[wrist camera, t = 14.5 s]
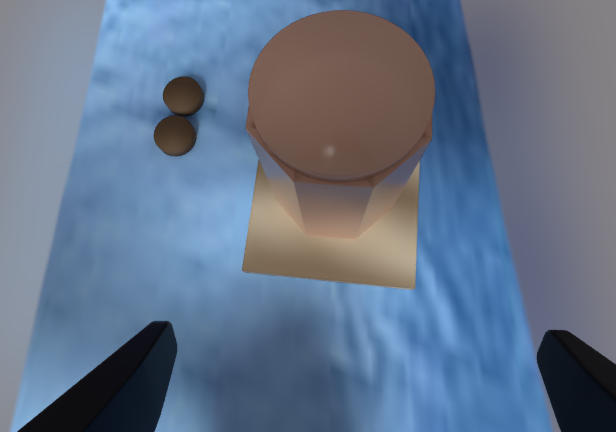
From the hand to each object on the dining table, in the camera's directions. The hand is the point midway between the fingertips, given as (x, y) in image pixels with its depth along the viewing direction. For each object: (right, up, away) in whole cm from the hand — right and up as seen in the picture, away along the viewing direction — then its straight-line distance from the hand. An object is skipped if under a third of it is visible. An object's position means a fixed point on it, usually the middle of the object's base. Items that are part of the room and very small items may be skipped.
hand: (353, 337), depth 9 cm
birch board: (+1, +5, +15) cm, 16 cm away
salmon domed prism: (+1, +5, +14) cm, 15 cm away
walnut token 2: (-10, +8, +17) cm, 21 cm away
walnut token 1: (-10, +11, +18) cm, 23 cm away
